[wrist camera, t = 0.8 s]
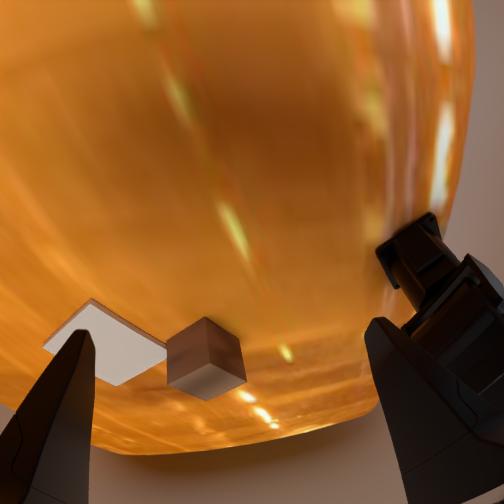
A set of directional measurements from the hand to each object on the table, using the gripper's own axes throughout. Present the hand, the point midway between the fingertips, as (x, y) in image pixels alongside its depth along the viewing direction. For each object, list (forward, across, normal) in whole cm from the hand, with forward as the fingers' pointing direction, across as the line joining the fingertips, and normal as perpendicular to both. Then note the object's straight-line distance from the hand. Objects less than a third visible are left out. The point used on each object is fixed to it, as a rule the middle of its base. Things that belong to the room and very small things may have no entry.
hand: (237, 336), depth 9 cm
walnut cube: (+13, 0, +18) cm, 22 cm away
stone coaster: (+13, +10, +19) cm, 25 cm away
